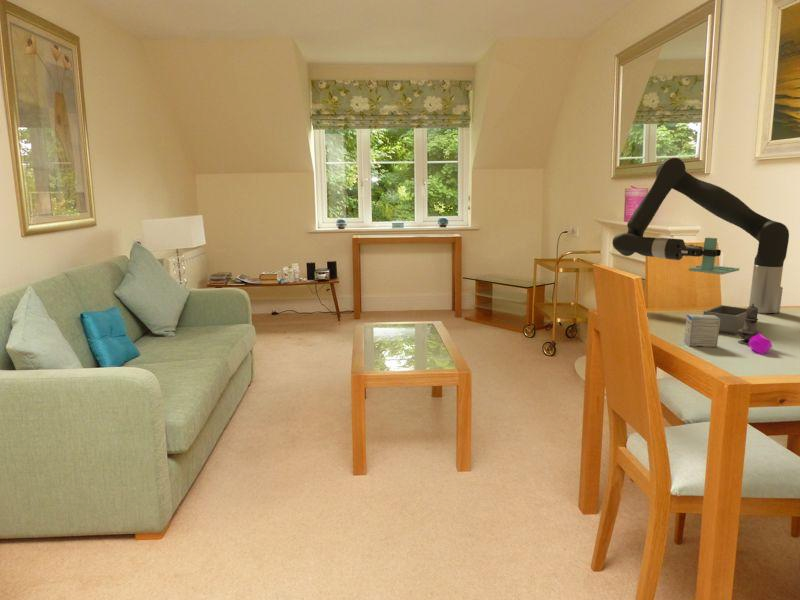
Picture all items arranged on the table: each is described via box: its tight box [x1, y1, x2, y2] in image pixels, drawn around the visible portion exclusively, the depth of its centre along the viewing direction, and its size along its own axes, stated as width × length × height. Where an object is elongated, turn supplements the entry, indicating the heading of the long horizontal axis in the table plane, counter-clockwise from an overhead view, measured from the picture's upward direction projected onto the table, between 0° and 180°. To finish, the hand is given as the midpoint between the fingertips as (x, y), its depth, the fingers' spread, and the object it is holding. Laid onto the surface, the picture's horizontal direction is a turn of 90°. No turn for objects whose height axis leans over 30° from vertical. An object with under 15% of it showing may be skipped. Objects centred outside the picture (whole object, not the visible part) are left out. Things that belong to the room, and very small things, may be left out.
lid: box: [688, 237, 740, 275], centre depth 219 cm, size 17×11×12 cm, turn 134°
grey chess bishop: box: [737, 304, 762, 346], centre depth 182 cm, size 6×6×12 cm
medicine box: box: [683, 314, 720, 348], centre depth 179 cm, size 8×4×9 cm, turn 84°
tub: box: [702, 304, 747, 336], centre depth 201 cm, size 16×10×6 cm, turn 134°
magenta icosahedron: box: [748, 333, 773, 355], centre depth 174 cm, size 5×5×5 cm
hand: (718, 253), depth 212 cm, fingers closed on lid, 3 cm apart
